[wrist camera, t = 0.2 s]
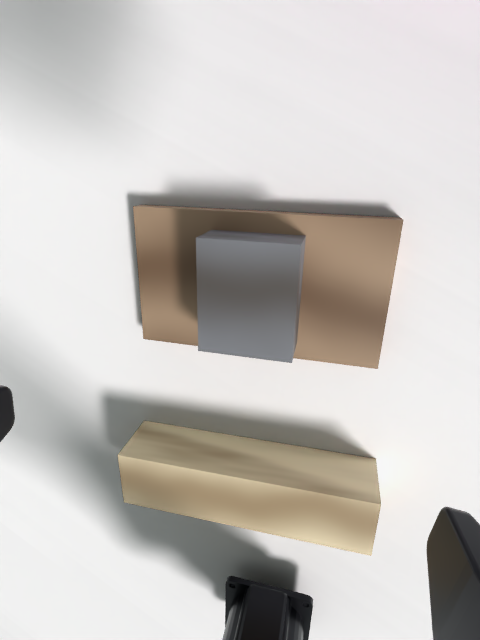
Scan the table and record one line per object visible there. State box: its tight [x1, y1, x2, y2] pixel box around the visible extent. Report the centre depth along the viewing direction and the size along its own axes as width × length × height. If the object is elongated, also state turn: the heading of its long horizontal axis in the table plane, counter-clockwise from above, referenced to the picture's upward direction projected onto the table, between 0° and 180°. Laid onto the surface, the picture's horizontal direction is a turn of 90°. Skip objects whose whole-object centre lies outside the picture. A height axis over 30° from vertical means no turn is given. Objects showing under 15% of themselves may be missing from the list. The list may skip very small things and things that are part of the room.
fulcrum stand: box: [133, 205, 403, 369], centre depth 21 cm, size 8×14×4 cm, turn 89°
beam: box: [118, 421, 381, 556], centre depth 26 cm, size 4×16×4 cm, turn 89°
